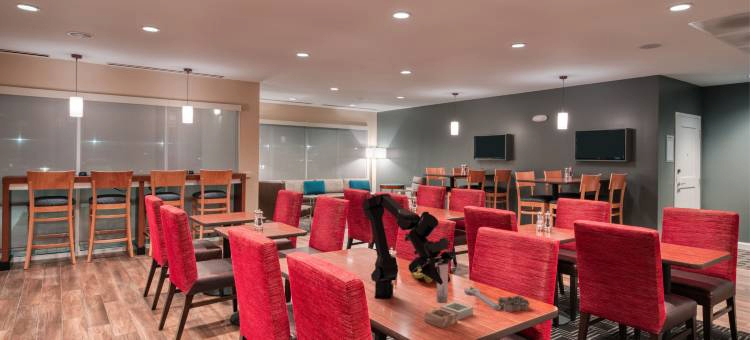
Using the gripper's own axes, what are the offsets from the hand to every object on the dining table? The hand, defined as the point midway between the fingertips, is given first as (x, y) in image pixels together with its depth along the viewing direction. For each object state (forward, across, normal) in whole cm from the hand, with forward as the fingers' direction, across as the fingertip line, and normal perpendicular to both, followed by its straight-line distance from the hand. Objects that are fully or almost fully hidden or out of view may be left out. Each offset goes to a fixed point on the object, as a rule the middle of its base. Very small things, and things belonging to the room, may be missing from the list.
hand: (445, 282), depth 152 cm
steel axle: (+4, 0, +6) cm, 7 cm away
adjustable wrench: (+5, +30, +15) cm, 34 cm away
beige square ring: (+9, 0, +10) cm, 13 cm away
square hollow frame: (+8, +10, +12) cm, 17 cm away
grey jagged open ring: (+14, +32, +5) cm, 35 cm away
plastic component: (-19, +36, +38) cm, 56 cm away
